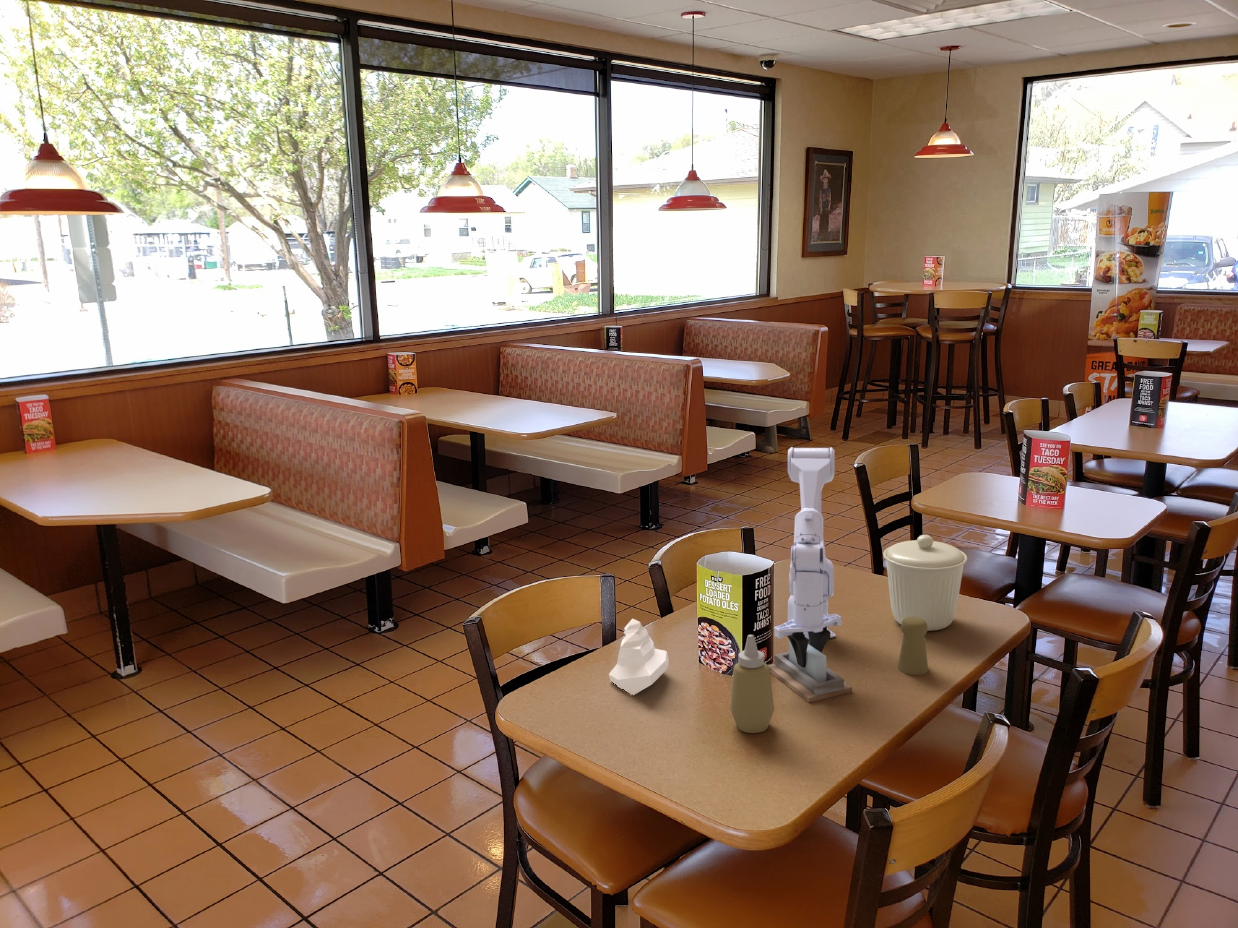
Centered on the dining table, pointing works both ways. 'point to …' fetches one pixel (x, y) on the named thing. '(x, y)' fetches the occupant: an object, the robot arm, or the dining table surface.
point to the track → (807, 680)
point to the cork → (913, 647)
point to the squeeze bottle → (751, 690)
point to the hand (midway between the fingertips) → (808, 663)
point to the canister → (924, 580)
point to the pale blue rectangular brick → (811, 663)
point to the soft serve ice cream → (638, 660)
